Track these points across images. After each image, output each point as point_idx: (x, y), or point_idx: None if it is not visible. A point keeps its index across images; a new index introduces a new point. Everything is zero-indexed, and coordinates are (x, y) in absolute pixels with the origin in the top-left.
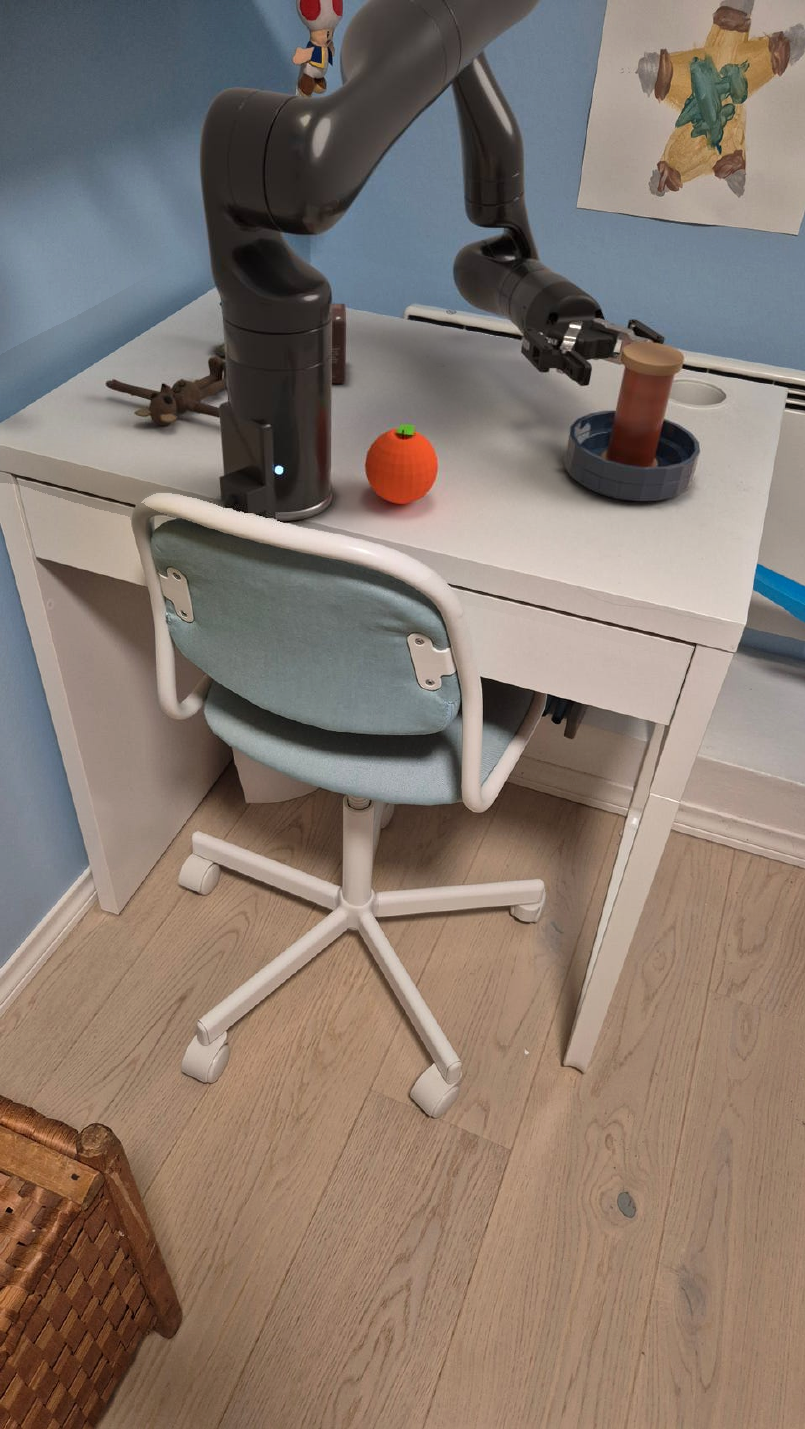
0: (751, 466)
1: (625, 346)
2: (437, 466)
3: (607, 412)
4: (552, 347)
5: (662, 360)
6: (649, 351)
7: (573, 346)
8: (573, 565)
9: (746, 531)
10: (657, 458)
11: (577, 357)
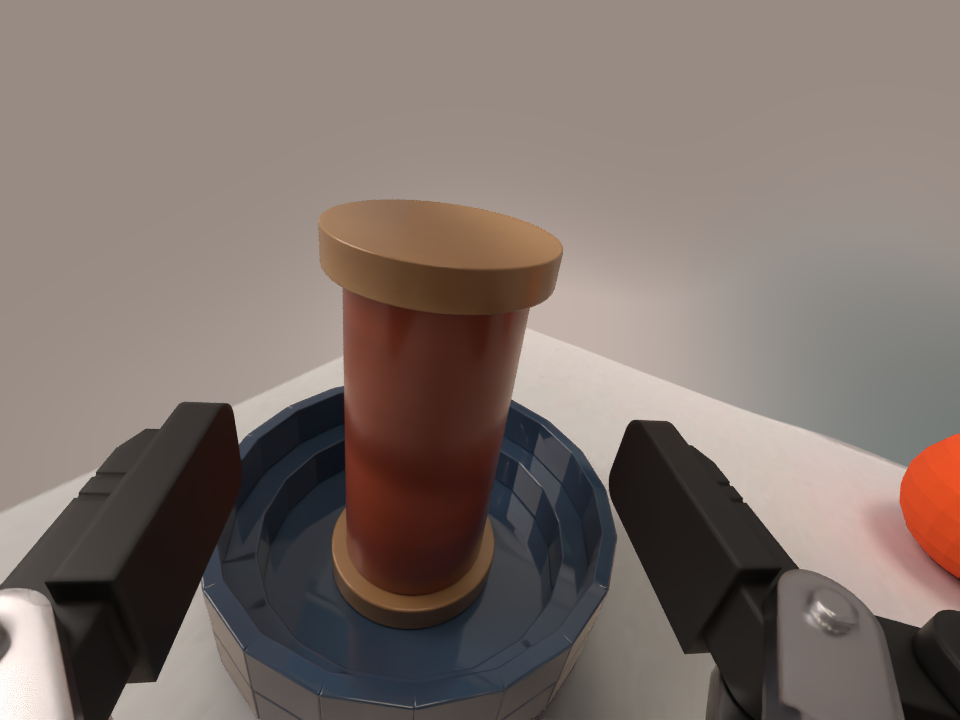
0: (6, 529)
1: (538, 262)
2: (924, 480)
3: (413, 687)
4: (943, 637)
5: (443, 210)
6: (451, 234)
7: (774, 678)
8: (607, 377)
9: (316, 371)
10: (282, 586)
11: (715, 488)
